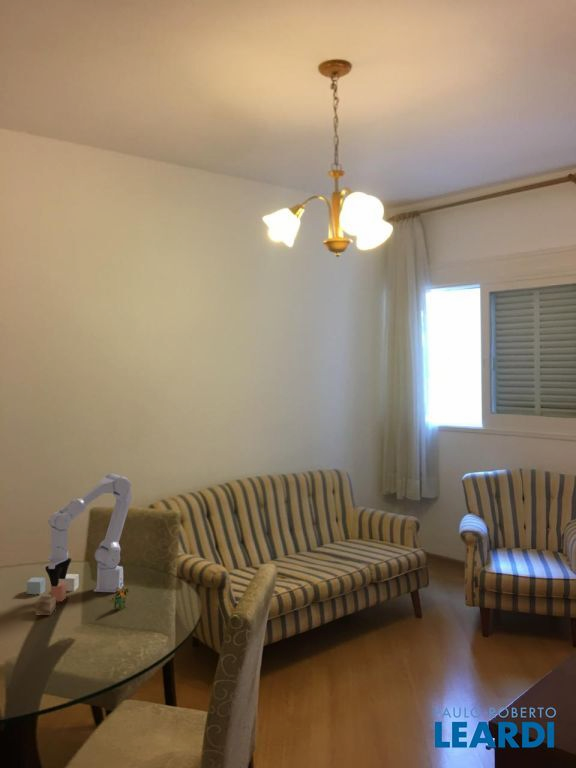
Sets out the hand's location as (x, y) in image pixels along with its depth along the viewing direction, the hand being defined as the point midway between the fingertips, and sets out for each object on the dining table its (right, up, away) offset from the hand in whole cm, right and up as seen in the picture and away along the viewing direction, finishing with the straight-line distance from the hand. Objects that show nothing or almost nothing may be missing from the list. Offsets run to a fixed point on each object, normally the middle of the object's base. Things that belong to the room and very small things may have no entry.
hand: (58, 582), depth 235 cm
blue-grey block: (-11, -6, +7) cm, 15 cm away
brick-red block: (0, -7, 0) cm, 7 cm away
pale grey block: (0, -6, +12) cm, 14 cm away
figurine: (+24, -8, -7) cm, 26 cm away
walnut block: (0, -7, -12) cm, 14 cm away
